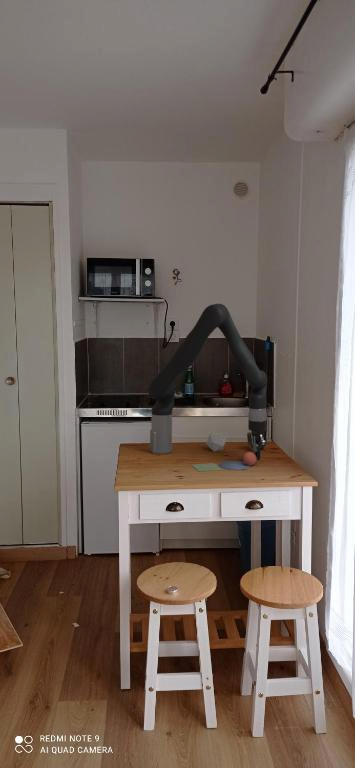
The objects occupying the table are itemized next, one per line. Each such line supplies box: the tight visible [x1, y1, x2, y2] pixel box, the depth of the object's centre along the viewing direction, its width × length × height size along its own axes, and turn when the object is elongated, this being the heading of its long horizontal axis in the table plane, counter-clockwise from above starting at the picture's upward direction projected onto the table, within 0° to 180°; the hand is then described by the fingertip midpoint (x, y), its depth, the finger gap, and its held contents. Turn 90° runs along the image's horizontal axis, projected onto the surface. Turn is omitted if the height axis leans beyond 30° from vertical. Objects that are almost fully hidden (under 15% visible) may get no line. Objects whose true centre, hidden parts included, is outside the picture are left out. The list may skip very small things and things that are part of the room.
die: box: [205, 432, 227, 452], centre depth 265 cm, size 8×9×10 cm
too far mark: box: [191, 462, 224, 473], centre depth 236 cm, size 10×10×1 cm
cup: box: [246, 431, 254, 452], centre depth 265 cm, size 8×7×8 cm
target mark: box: [217, 460, 251, 471], centre depth 239 cm, size 13×13×1 cm
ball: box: [242, 451, 258, 467], centre depth 240 cm, size 6×6×6 cm
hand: (257, 459), depth 242 cm, fingers closed
